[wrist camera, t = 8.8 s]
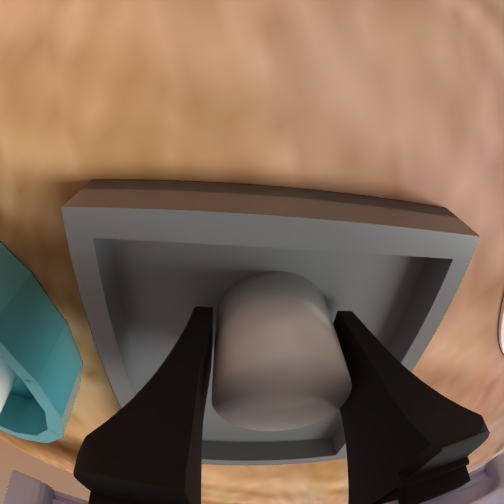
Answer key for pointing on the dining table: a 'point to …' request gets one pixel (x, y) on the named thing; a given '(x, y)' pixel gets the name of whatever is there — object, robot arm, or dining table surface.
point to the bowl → (35, 356)
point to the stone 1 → (5, 381)
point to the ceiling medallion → (501, 328)
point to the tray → (247, 264)
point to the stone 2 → (276, 355)
